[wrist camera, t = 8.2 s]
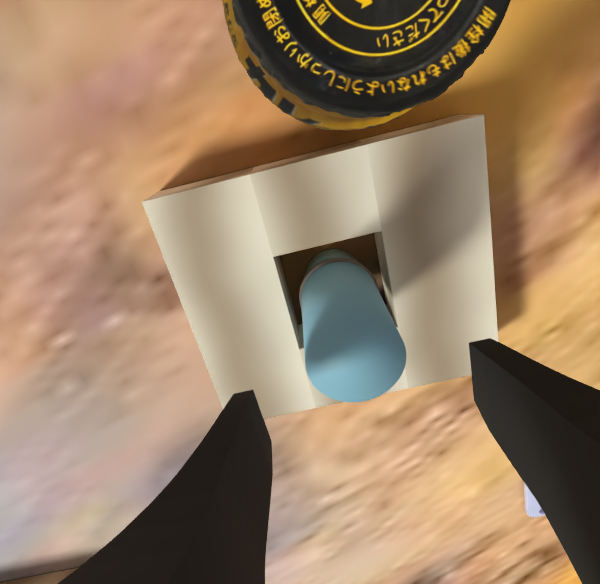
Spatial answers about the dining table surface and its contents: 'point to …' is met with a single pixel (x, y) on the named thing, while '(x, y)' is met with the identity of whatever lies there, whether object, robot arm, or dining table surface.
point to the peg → (348, 330)
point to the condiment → (358, 53)
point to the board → (327, 229)
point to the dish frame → (43, 578)
